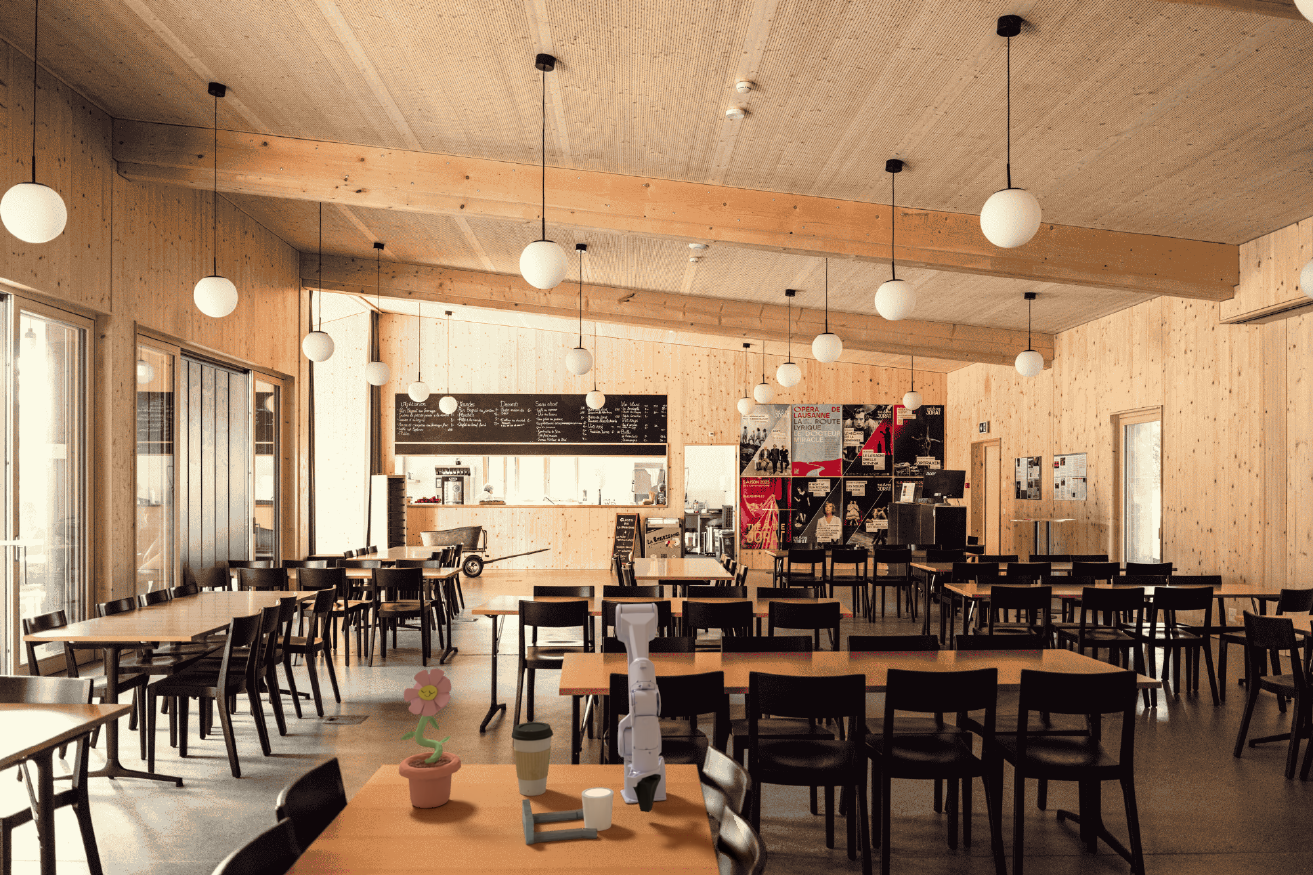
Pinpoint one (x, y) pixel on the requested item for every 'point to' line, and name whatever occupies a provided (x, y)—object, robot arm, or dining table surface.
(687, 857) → the dining table surface
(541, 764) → the coffee cup
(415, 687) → the decorative flower
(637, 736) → the robot arm
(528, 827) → the grey hook bracket
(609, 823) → the shot glass
